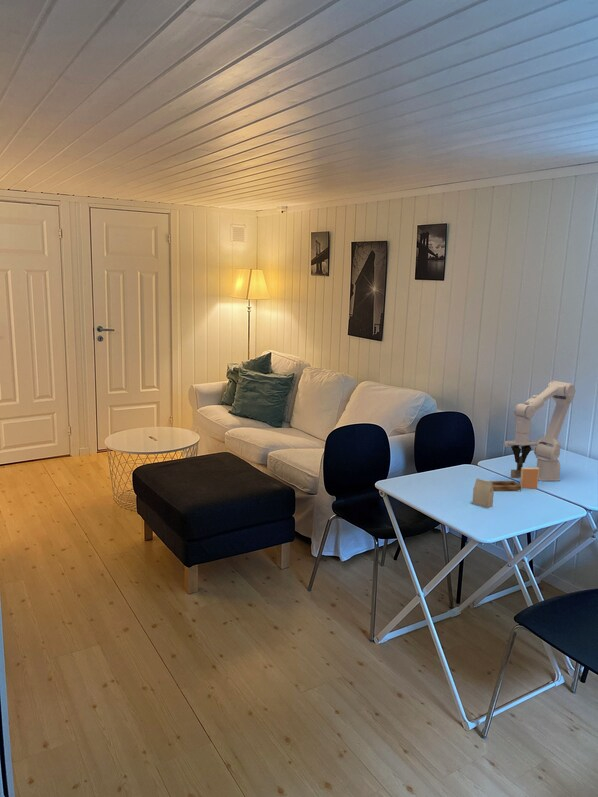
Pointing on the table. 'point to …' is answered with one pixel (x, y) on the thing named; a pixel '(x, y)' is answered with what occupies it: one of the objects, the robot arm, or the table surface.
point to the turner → (517, 472)
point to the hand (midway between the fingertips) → (519, 462)
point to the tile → (529, 477)
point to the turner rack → (505, 486)
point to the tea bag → (483, 493)
